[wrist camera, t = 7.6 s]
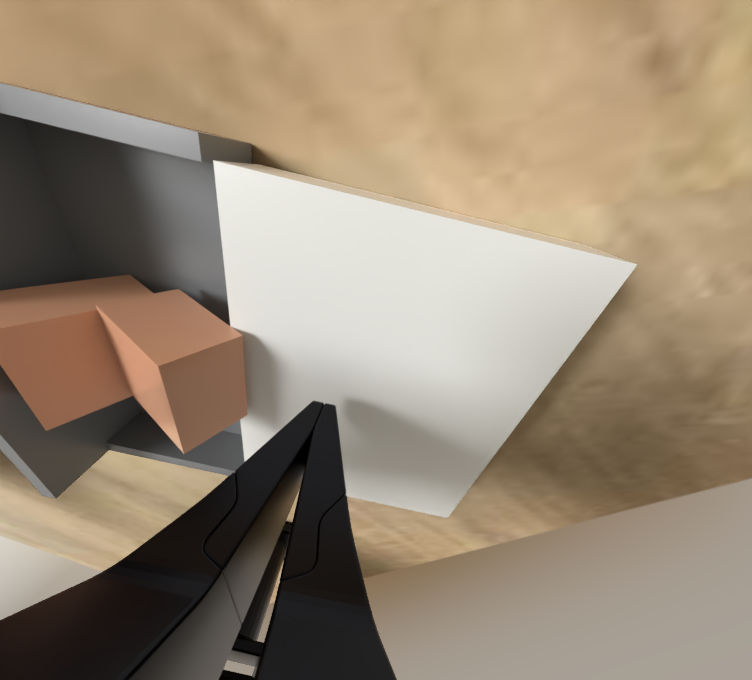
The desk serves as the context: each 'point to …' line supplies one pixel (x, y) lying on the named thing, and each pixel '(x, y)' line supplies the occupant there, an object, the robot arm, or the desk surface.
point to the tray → (107, 255)
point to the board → (398, 325)
